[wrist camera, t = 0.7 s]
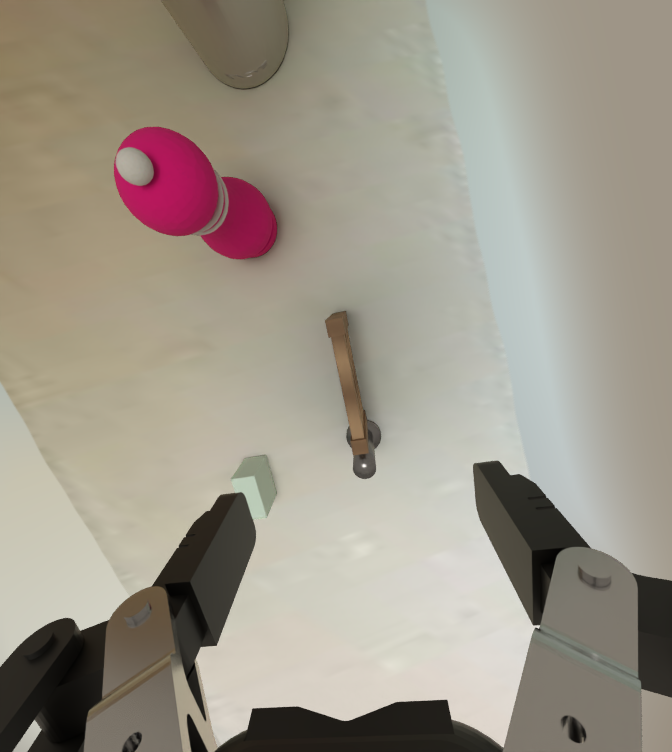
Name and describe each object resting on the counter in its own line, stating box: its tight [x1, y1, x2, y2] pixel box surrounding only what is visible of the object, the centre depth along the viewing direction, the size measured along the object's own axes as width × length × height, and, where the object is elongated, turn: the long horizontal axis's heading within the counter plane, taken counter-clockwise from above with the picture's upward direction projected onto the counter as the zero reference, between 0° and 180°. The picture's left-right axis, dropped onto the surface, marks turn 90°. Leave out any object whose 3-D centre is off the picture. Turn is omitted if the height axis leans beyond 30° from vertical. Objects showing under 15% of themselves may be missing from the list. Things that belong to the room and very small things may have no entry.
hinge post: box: [347, 420, 381, 479], centre depth 38 cm, size 4×4×8 cm
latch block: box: [231, 455, 277, 520], centre depth 42 cm, size 6×3×5 cm, turn 12°
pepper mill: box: [114, 127, 277, 259], centre depth 26 cm, size 7×7×20 cm
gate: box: [325, 311, 369, 455], centre depth 35 cm, size 14×2×8 cm, turn 12°
